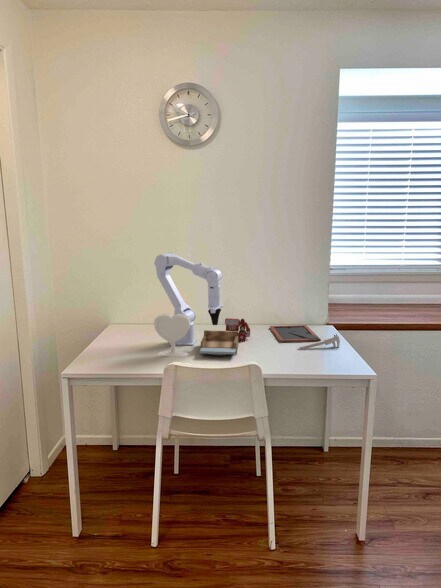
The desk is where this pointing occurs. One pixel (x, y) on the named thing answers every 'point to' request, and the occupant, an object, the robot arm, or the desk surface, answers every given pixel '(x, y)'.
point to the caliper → (323, 342)
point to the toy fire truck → (234, 326)
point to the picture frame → (294, 334)
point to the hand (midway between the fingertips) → (215, 324)
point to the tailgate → (218, 351)
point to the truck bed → (220, 339)
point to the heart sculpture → (172, 330)
